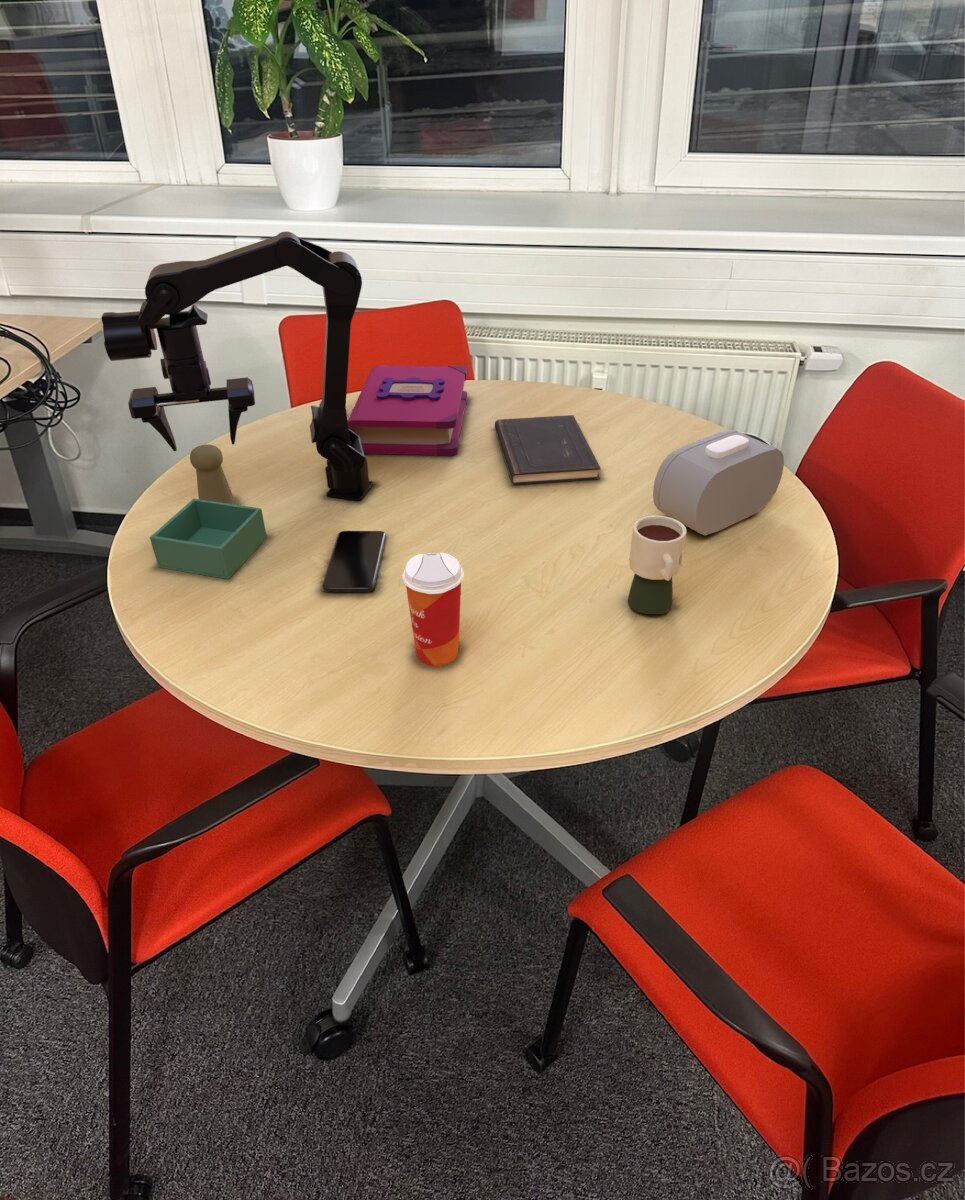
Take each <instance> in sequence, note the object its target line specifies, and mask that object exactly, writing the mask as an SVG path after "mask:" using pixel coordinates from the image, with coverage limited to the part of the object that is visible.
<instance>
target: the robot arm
mask: <svg viewBox="0 0 965 1200" xmlns="http://www.w3.org/2000/svg"><path fill="white" fill-rule="evenodd" d="M284 267H288V268H290V269H293V270H294V271H296V272H298V273H299V274H300V275H302V276H304V277H305V278H307V279H308V280H310V281H311V282H313V283H314V284H317V285H319V286H320V287H322V295H323V301H324V307H325V316H326V317H325V335H324V357H323V376H322V397H321V401H320V404H319V406H316V405H310V410H311V422H310V424H309V430H310V438H311V443H312V444H315V447H316V451H317V454H318V455H320V456H321V457H322V458H324V459H326V466H325V468H324V471H325V477H326V485H327V488H328V489H329V490H328V491H327V492H326V493H325V494H326V497H329V498H336V499H342V500H349V501H357V502H359V501H362V500H363V499H364V497H365V496H366V495H367V493H369V491H370V490H371V488H372V487H373V486H374V481H372V480H370V477H369V466H368V458H367V456H365V453H364V452H363V448H362V444H361V440H360V437H359V436H358V435H357V434H356V433H354V432H353V431H351V430H350V429H349V426H348V419H349V418H348V412H347V394H348V393H347V391H348V377H349V361H350V360H349V359H350V344H351V329H352V325H351V324H352V321H353V318H354V315H355V314H356V313H355V312H356V311H357V308H358V304H359V299H360V295H361V291H362V288H363V279H362V275H361V272H360V269H359V266H358V265H357V262H356V260H355V259H354V258H353V256H351V255H350V254H349V253H347V252H344V251H340V250H338V251H330V250H329V249H327V248H325V247H324V246H321V245H319V244H316V243H314V242H311V241H308V240H306V239H303V238H301V237H300V236H297V234H294V233H293V232H291V231H287V230H285V231H281V232H279V233H278V234H276V235H275V236H272V237H268V238H266V239H263V240H260V241H257V242H253V243H251V244H248V245H245V246H242V247H239V248H237V249H233V250H230V251H227V252H224V253H221V254H218V255H215V256H212V257H209V258H206V259H201V260H179V261H172V262H166V263H165V262H164V263H159V264H158V265H156V266H154V267H153V268H152V269H151V271H150V273H149V275H148V279H147V281H146V284H145V287H144V296H145V301H142V303H141V306H140V308H139V310H138V311H137V310H136V311H127V312H126V311H125V312H114V311H109V312H103V313H102V315H101V317H100V319H101V324H102V331H103V333H102V334H103V339H104V341H103V347H104V349H105V352H106V355H107V357H108V359H109V360H110V361H111V362H114V361H115V362H116V361H127V360H128V361H129V360H137V359H140V360H141V359H150V358H152V354H153V352H152V351H157V350H158V340H159V344H160V349H161V352H162V357H163V358H160V360H159V361H160V367H161V372H162V377H163V379H164V380H167V379H168V380H169V384H170V385H169V386H170V388H171V392H165V393H159V391H158V388H157V387H156V386H150V387H141V388H133V389H132V391H131V392H130V394H129V399H128V402H127V403H128V404H127V405H128V409H129V413H130V416H131V418H132V419H134V420H137V419H140V420H141V423H142V424H143V423H144V424H146V423H147V424H150V426H152V427H153V429H155V430H156V431H157V433H159V435H160V436H161V437H162V438H163V440H164V441H165V442H166V444H168V446H169V447H170V448H171V449H172V451H173V452H177V450H178V447H177V443H176V439H175V437H174V433H173V430H172V428H171V426H170V424H169V421H168V418H167V414H166V411H165V407H171V406H180V405H189V404H190V405H191V404H199V403H209V402H218V401H228V402H227V405H228V409H227V410H228V422H229V423H228V424H229V438H230V442H231V445H232V446H234V445H235V444H236V437H237V430H238V424H239V421H240V418H241V416H242V413H246V412H247V411H249V409H248V407H249V408H250V407H253V406H255V405H256V399H255V398H256V397H255V389H254V384H253V380H251V378H250V377H238V378H229V379H228V378H227V379H226V386H224V387H214V388H211V385H212V381H211V377H210V371H209V368H208V367H207V366H208V365H207V361H206V360H205V359H204V355H203V350H202V345H201V340H200V336H199V332H198V327H197V326H205V325H207V323H208V319H209V318H208V317H209V316H208V313H207V312H205V311H203V310H202V309H200V308H199V307H198V306H197V305H196V304H197V302H199V301H200V300H202V299H203V298H204V297H206V296H207V295H208V294H210V293H212V292H214V291H216V290H219V289H222V288H225V287H227V286H231V285H234V284H237V283H240V282H243V281H246V280H248V279H252V278H254V277H258V276H260V275H264V274H266V273H270V272H273V271H276V270H278V269H282V268H284ZM188 308H190V309H189V310H186V309H188ZM167 315H168V316H167ZM165 316H166V317H165ZM155 329H156V332H155ZM156 333H157V335H156ZM157 336H158V340H157Z"/></svg>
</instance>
